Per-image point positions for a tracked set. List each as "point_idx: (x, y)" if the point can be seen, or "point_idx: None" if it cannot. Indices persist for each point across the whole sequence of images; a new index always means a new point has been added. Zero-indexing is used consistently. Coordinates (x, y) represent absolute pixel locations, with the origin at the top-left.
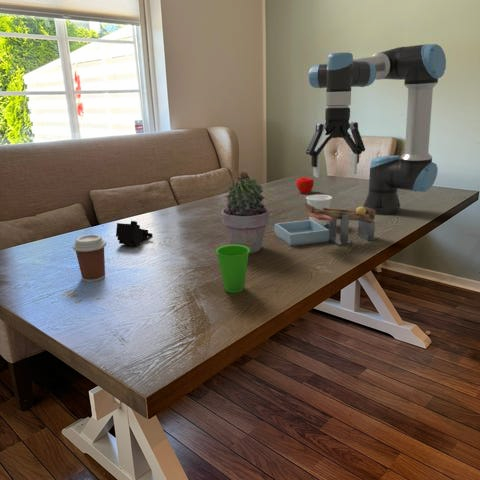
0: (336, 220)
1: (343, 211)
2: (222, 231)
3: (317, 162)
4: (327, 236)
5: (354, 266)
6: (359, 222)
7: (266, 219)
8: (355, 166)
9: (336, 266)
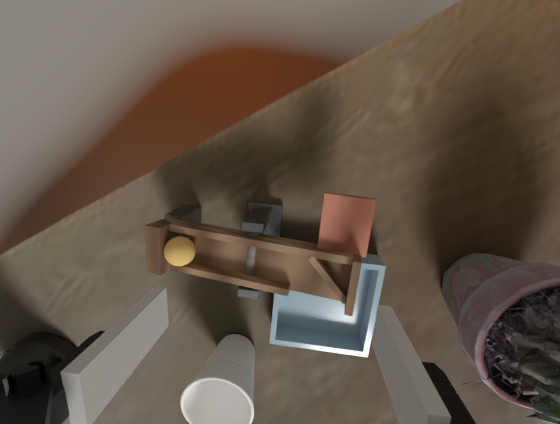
0: None
1: (225, 273)
2: None
3: (426, 380)
4: None
5: (330, 72)
6: None
7: (503, 282)
8: (136, 312)
9: (365, 91)
